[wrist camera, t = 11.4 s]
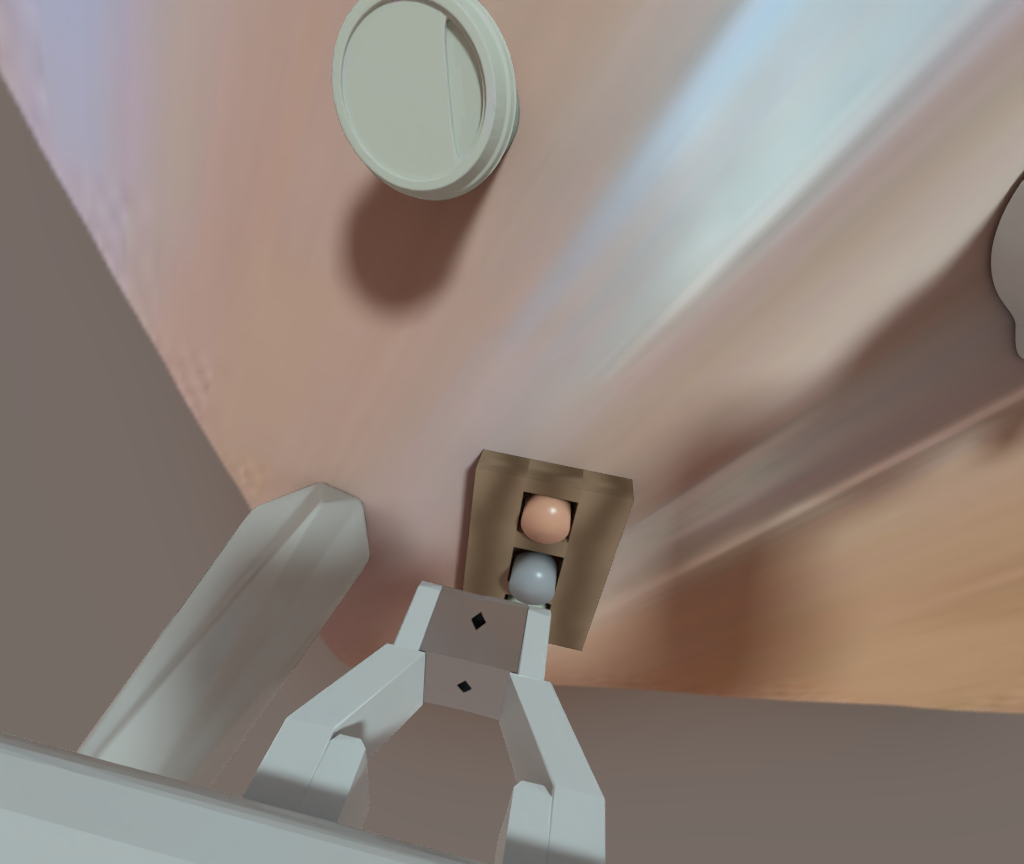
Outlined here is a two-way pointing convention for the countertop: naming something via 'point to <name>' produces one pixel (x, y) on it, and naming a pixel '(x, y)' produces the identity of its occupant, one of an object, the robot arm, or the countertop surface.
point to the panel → (581, 550)
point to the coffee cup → (425, 93)
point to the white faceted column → (236, 637)
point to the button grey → (533, 578)
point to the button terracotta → (546, 518)
